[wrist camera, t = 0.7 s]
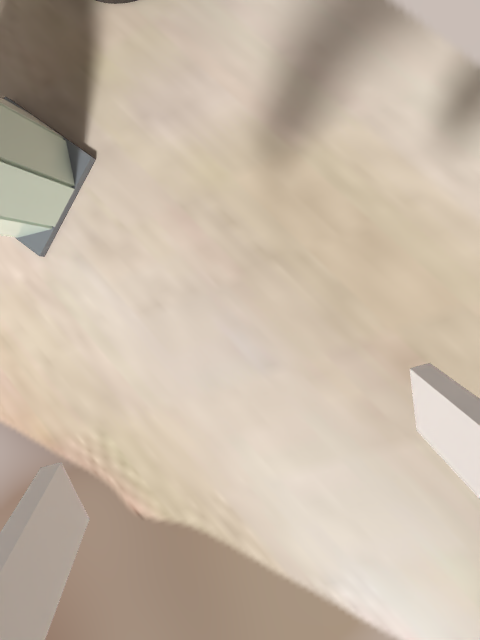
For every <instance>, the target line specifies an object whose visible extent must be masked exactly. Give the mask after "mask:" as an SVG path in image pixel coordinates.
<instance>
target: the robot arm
mask: <svg viewBox="0 0 480 640" xmlns="http://www.w3.org/2000/svg"><path fill="white" fill-rule="evenodd" d="M96 1H100V2H104V3H114V4H117V3H128V2H133V1H137V0H96ZM410 376H411V385H412V394H413V403H414V412H415V420H416V429H417V432H418V433H419V434H420V435H421V436H422V437H423V438H424V439H425V440H426V441H427V442H428V443H429V445H430V446H431V447H432V448H433V449H434V450H435V451H436V452H437V453H438V454H439V455H440V456H441V458H442V459H443V460H444V461H445V462H446V463H447V464H448V465H449V466H450V467H451V468H452V470H453V471H454V472H455V473H456V474H457V475H458V476H459V477H460V478H461V479H462V480H463V481H464V483H465V484H466V485H467V486H468V487H469V488H470V489H471V490H472V491H473V492H474V493H475V494H476V496H477V497H478V498H479V499H480V399H479V398H478V397H476V396H475V395H474V394H472V393H471V392H469V391H468V390H467V389H465V388H464V387H463V386H461V385H460V384H458V383H457V382H456V381H454V380H453V379H451V378H450V377H449V376H447V375H446V374H444V373H443V372H442V371H440V370H439V369H438V368H436V367H435V366H433V365H432V364H431V363H428V364H424V365H421V366H417V367H413V368H410ZM88 522H89V517H88V515H87V513H86V511H85V509H84V507H83V505H82V503H81V501H80V499H79V497H78V495H77V493H76V491H75V489H74V487H73V485H72V483H71V481H70V479H69V477H68V475H67V473H66V471H65V468H64V467H63V464H62V462H60V463H56V464H52V465H49V466H45V467H41V468H40V470H39V471H38V473H37V475H36V476H35V478H34V479H33V481H32V483H31V485H30V486H29V487H28V489H27V491H26V492H25V494H24V496H23V497H22V499H21V500H20V502H19V504H18V505H17V507H16V508H15V510H14V512H13V513H12V515H11V516H10V518H9V520H8V521H7V523H6V525H5V526H4V528H3V529H2V531H1V532H0V640H45V638H46V636H47V633H48V630H49V627H50V625H51V622H52V620H53V617H54V614H55V611H56V609H57V606H58V603H59V601H60V597H61V595H62V592H63V590H64V587H65V584H66V581H67V579H68V576H69V573H70V571H71V568H72V565H73V562H74V560H75V557H76V554H77V552H78V549H79V546H80V543H81V541H82V538H83V535H84V532H85V530H86V527H87V524H88Z"/></svg>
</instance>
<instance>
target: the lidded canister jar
mask: <svg viewBox="0 0 480 640" xmlns="http://www.w3.org/2000/svg"><path fill="white" fill-rule="evenodd" d="M63 139H64V137H62V136H61V135H59V134H58V133H56V132H55V131H54V130H52V129H51V128H49V127H48V126H47V125H45V124H44V123H42V122H41V121H39V120H38V119H37V118H35V117H34V116H32V115H31V114H29V113H27V112H26V111H24V110H22V109H20V108H19V107H17V106H15V105H13V104H12V103H10V102H8V101H6V100H4V99H3V98H1V97H0V235H1V236H8V237H15V238H18V237H22V236H26V235H30V234H34V233H38V232H42V231H46V230H50V229H52V226H53V227H55V226H56V224H57V222H58V220H59V218H60V216H61V214H62V212H63V210H64V208H65V207H66V205H67V203H68V201H69V199H70V197H71V195H72V193H73V191H74V188H72V187H71V186H75V182H74V178H73V173H72V168H71V163H70V158H69V153H68V148H67V143H66V141H65V140H63Z"/></svg>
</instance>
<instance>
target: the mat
mask: <svg viewBox="0 0 480 640" xmlns="http://www.w3.org/2000/svg"><path fill="white" fill-rule="evenodd" d="M4 100H6V101H8V102H10V103H12V104H13V105H15V106H17V107H19V108H20V109H22V110H24V111H26V110H25V109H23V108H22V107H20V106H19V105H18V104H16V103H15V102H13V101H12V100H10V99H9V98H7V97H5V98H4ZM26 112H27V113H29V112H28V111H26ZM29 114H30V113H29ZM31 115H32V114H31ZM32 116H33V115H32ZM34 117H35V116H34ZM35 118H36V117H35ZM37 119H38V118H37ZM38 120H39V119H38ZM39 121H40V120H39ZM41 122H42V121H41ZM42 123H43V122H42ZM44 124H45V123H44ZM45 125H46V124H45ZM47 126H48V125H47ZM48 127H49V126H48ZM49 128H50V127H49ZM51 129H52V128H51ZM52 130H53V129H52ZM54 131H55V130H54ZM55 132H56V131H55ZM56 133H57V132H56ZM58 134H59V133H58ZM59 135H60V134H59ZM61 136H62V135H61ZM62 137H63V136H62ZM63 140H65V141H66V143H67V148H68V153H69V158H70V163H71V168H72V173H73V178H74V182H75V186H71V187H72V188H74V191H73V193H72V195H71V197H70V199H69V201H68V203H67V205H66V207H65V208H64V210H63V212H62V214H61V216H60V218H59V220H58V222H57V224H56V226H55V227H53V226H52V229H50V230H46V231H42V232H38V233H34V234H30V235H26V236H22V237H18V238H16V239H17V240H19V241H20V242H21V243H23V244H24V245H25V246H27V247H28V248H29V249H31V250H32V251H33V252H35V253H36V254H37V255H39V256H43V257H44V256H45V254H46V252H47V251H48V249H49V247H50V245H51V243H52V241H53V239H54V237H55V235H56V233H57V232H58V230H59V228H60V226H61V224H62V222H63V220H64V218H65V216H66V215H67V213H68V211H69V209H70V207H71V205H72V203H73V201H74V199H75V197H76V196H77V194H78V192H79V190H80V188H81V186H82V184H83V182H84V180H85V179H86V177H87V175H88V173H89V171H90V169H91V167H92V165H93V163H94V161H95V160H96V159H94V158H93V157H92V156H90V155H89V154H87V153H86V152H85V151H83V150H82V149H80V148H79V147H77V146H76V145H75V144H73V143H72V142H70V141H69V140H67V139H66V138H65V137H64V139H63Z"/></svg>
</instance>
